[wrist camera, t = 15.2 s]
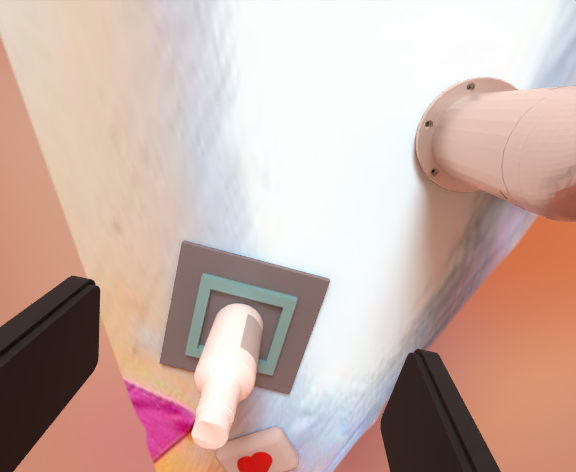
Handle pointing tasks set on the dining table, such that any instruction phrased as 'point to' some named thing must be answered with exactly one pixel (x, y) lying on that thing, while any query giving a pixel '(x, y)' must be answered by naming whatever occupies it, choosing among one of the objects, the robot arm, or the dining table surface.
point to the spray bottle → (226, 372)
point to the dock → (250, 291)
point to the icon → (259, 452)
